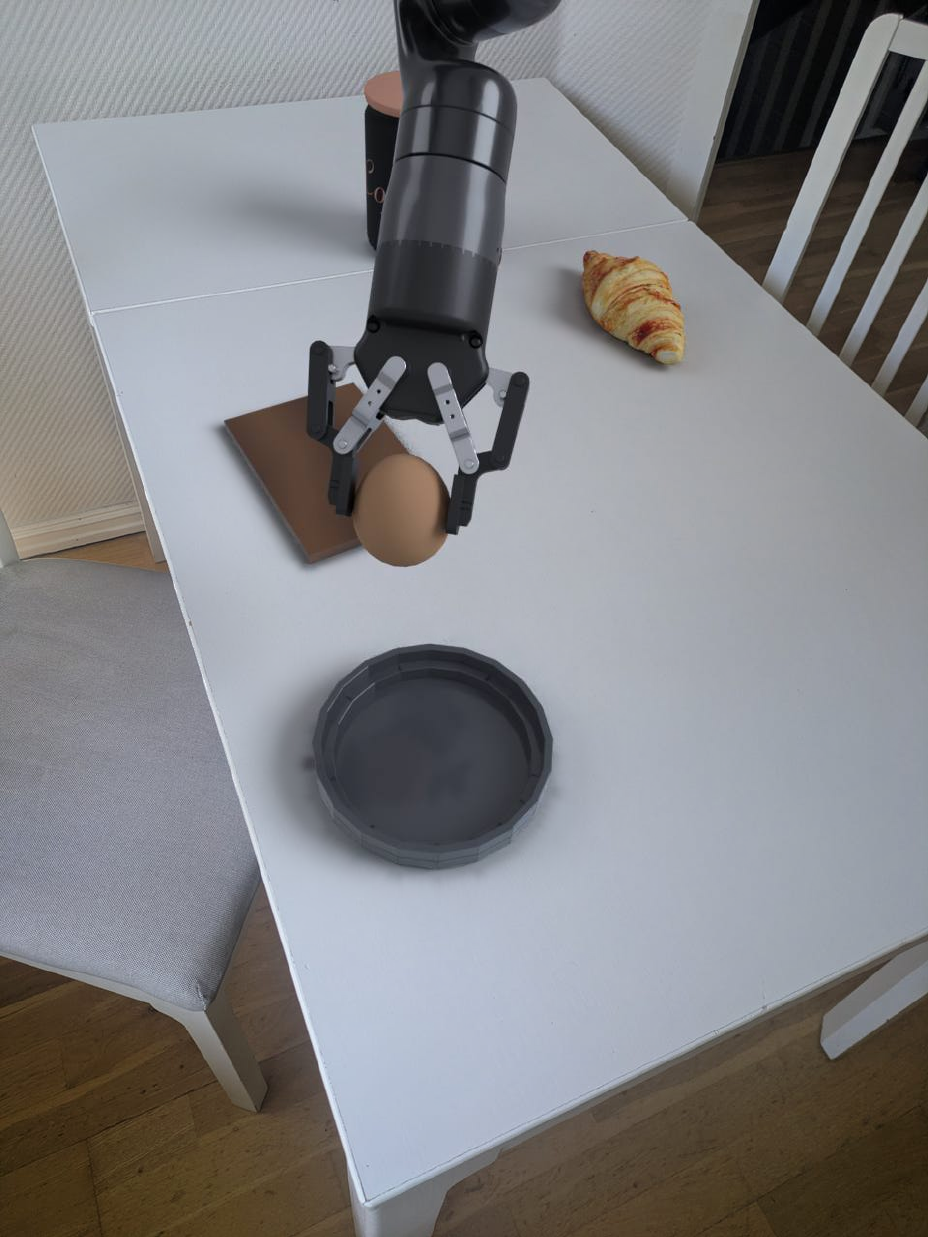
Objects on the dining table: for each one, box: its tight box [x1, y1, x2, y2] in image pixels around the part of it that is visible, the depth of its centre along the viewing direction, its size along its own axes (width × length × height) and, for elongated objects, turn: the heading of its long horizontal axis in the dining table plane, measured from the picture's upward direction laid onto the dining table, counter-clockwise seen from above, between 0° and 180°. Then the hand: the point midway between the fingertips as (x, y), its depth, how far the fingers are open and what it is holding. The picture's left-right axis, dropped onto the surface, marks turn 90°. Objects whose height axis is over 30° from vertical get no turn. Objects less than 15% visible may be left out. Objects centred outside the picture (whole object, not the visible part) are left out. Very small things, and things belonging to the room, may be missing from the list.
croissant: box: [581, 249, 687, 366], centre depth 103 cm, size 21×10×8 cm, turn 24°
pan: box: [311, 643, 554, 870], centre depth 66 cm, size 17×17×3 cm
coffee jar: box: [363, 69, 403, 252], centre depth 106 cm, size 11×11×18 cm
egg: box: [353, 453, 451, 568], centre depth 59 cm, size 6×6×8 cm
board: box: [223, 381, 411, 565], centre depth 86 cm, size 14×20×1 cm
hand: (397, 524), depth 57 cm, fingers closed on egg, 6 cm apart
